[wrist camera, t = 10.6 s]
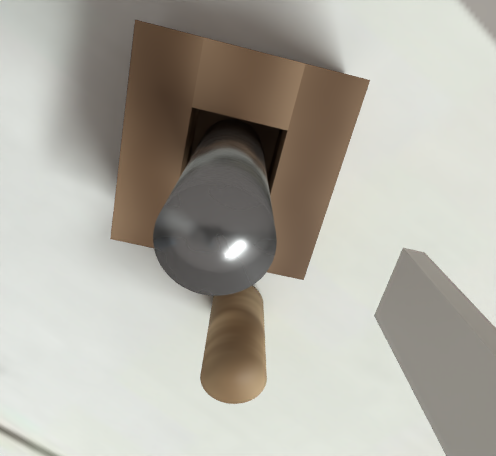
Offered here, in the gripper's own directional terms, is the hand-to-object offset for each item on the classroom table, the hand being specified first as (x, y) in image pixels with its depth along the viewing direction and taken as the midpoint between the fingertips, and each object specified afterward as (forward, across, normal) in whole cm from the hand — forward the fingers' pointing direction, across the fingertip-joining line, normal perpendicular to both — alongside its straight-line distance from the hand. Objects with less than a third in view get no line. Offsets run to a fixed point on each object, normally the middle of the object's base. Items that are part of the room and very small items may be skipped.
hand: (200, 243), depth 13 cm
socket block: (+15, +1, 0) cm, 15 cm away
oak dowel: (+15, +4, -12) cm, 20 cm away
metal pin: (+14, +1, 0) cm, 14 cm away
